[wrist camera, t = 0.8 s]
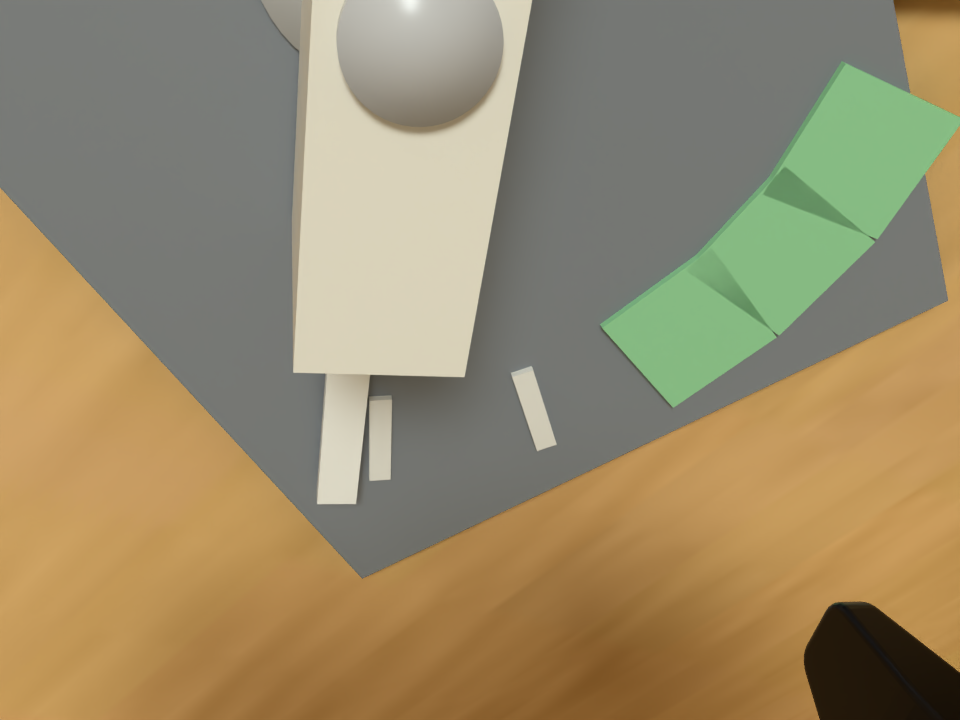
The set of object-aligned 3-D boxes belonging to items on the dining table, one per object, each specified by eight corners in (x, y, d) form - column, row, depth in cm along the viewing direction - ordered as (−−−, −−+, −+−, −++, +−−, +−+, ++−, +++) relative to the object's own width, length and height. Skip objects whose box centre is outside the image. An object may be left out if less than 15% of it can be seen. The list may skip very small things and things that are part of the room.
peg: (513, -422, 13) (625, -484, 8) (389, 489, 22) (413, 672, 18) (322, -467, 12) (341, -557, 8) (279, 489, 21) (277, 678, 17)
